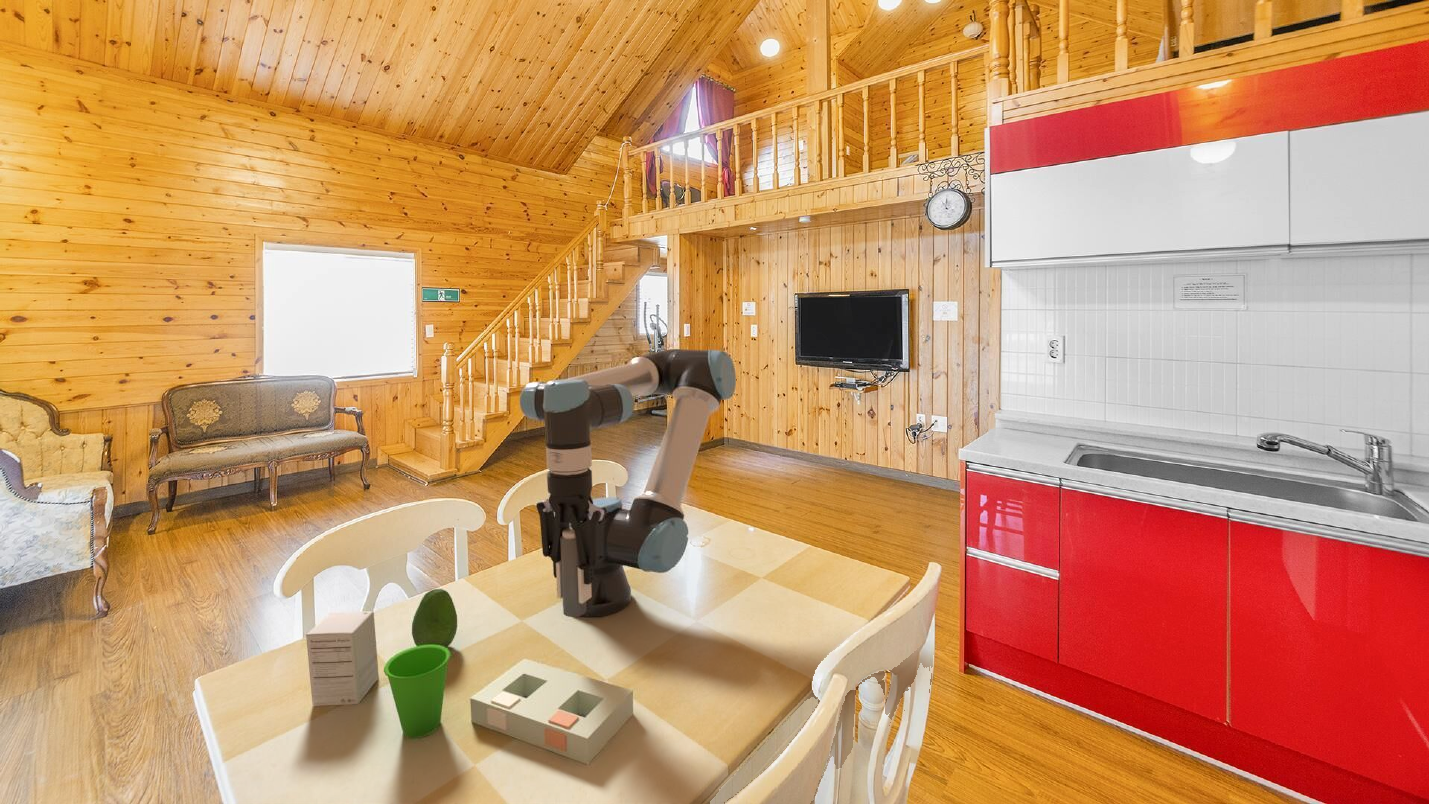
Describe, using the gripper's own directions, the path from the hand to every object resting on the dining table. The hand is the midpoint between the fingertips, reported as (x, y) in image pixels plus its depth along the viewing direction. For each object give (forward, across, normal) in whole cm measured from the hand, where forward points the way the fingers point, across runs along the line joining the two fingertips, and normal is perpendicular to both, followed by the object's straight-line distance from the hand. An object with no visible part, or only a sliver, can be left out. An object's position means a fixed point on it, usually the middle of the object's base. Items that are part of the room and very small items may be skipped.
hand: (574, 597), depth 104 cm
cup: (+13, -12, -23) cm, 29 cm away
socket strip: (+13, +5, -13) cm, 19 cm away
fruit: (+14, -28, -6) cm, 32 cm away
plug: (+3, 0, 0) cm, 3 cm away
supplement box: (+13, -31, -22) cm, 40 cm away
